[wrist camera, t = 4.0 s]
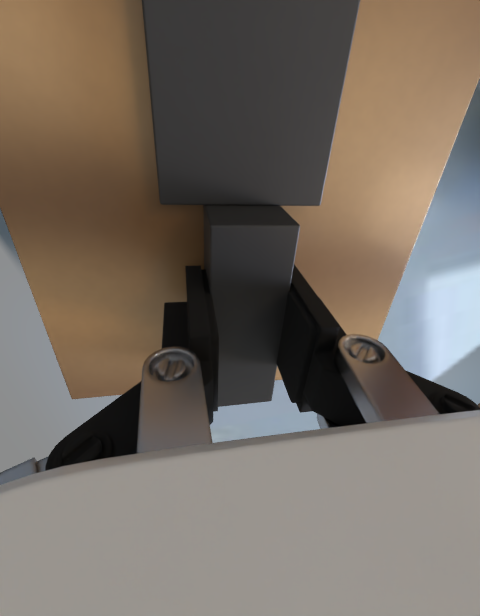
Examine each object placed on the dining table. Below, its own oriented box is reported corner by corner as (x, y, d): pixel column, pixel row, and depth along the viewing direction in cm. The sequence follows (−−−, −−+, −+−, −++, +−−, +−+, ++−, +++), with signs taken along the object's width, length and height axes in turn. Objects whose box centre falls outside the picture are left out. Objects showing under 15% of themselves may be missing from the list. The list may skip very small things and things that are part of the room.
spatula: (139, -38, 7) (124, -98, 5) (352, -8, 7) (415, -49, 5) (175, 366, 13) (175, 411, 11) (285, 356, 14) (303, 398, 12)
